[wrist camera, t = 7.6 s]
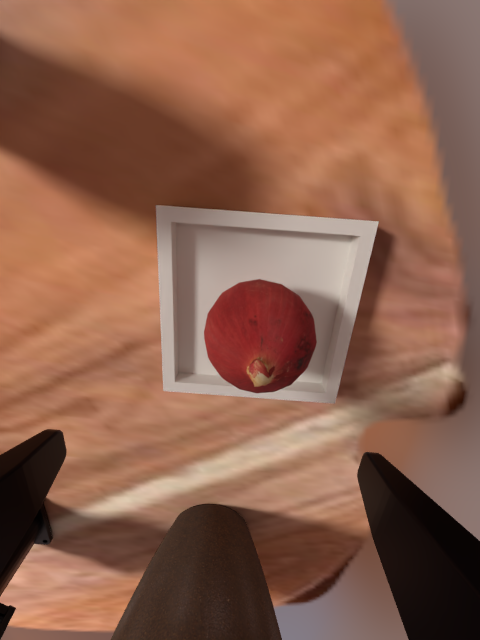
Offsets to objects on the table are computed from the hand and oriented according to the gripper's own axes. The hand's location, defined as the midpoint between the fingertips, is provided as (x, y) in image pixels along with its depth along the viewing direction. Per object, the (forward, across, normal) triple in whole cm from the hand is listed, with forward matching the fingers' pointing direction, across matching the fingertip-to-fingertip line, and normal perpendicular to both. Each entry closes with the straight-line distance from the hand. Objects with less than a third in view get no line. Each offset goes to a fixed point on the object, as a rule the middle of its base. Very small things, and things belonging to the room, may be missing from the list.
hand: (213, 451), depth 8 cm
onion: (+11, -2, -1) cm, 11 cm away
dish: (+12, -2, -1) cm, 12 cm away
